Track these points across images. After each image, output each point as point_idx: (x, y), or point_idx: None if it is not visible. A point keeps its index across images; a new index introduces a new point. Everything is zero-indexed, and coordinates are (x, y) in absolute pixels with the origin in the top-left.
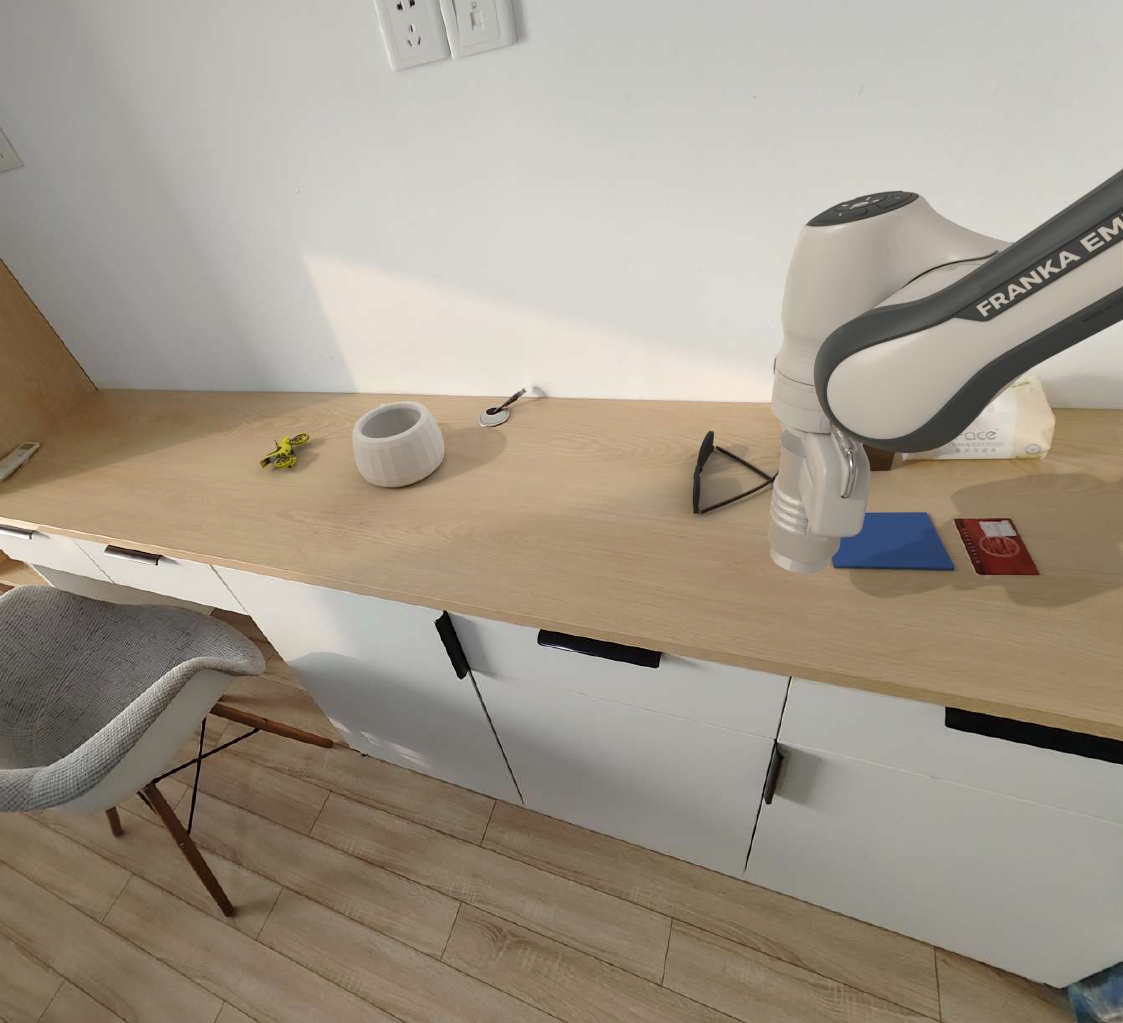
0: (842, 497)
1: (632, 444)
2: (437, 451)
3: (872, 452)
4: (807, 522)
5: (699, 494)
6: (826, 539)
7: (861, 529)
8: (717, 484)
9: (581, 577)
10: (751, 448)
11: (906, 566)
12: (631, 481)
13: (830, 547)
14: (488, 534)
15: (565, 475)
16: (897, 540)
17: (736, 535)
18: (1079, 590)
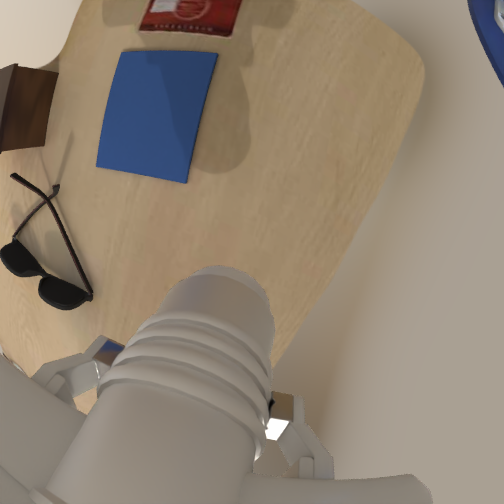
0: (286, 479)
1: (19, 302)
2: None
3: (34, 92)
4: (270, 438)
5: (74, 303)
6: (303, 399)
7: (430, 492)
8: (53, 254)
9: None
10: (14, 200)
11: (202, 101)
12: (58, 325)
13: (267, 328)
14: None
15: None
16: (156, 93)
17: (122, 268)
18: None
